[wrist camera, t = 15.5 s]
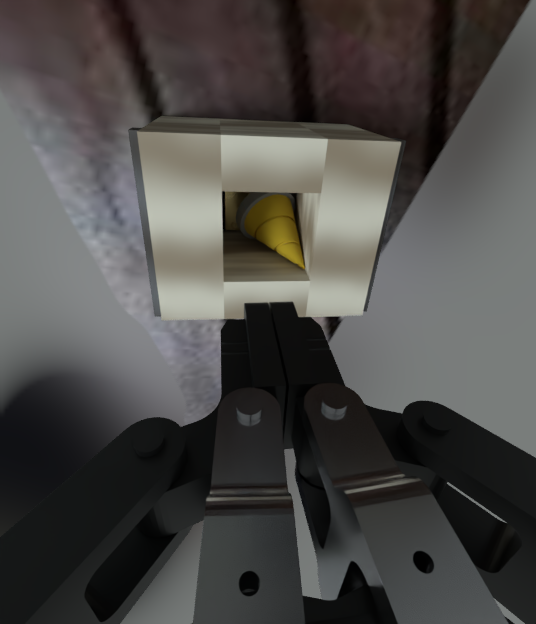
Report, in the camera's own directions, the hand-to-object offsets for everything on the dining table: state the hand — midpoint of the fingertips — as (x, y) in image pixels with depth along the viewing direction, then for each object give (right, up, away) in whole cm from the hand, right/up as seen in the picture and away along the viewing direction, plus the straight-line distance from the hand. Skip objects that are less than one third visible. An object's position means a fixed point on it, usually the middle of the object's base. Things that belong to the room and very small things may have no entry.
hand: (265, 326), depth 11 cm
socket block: (-1, +11, +23) cm, 26 cm away
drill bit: (+1, +9, +23) cm, 25 cm away
